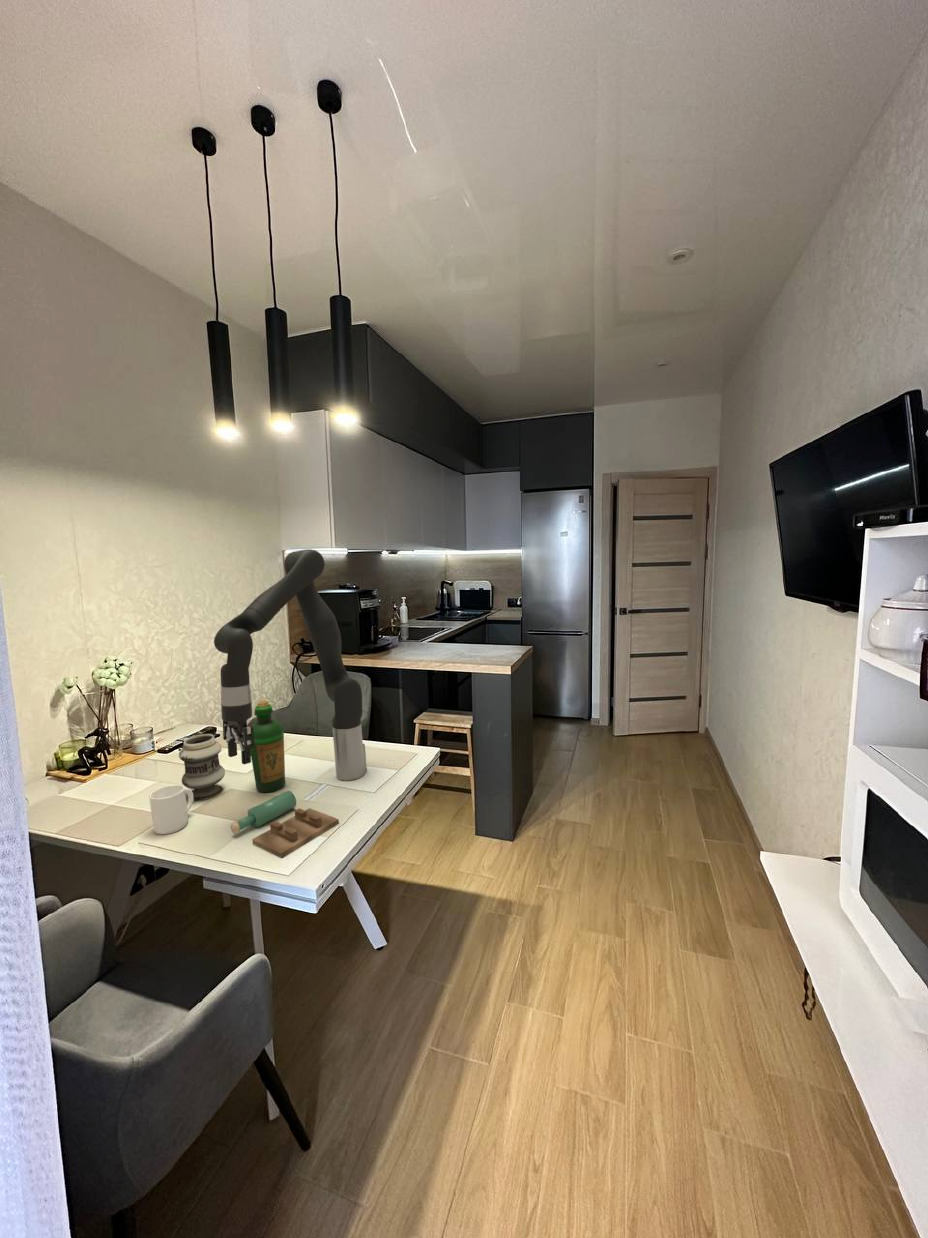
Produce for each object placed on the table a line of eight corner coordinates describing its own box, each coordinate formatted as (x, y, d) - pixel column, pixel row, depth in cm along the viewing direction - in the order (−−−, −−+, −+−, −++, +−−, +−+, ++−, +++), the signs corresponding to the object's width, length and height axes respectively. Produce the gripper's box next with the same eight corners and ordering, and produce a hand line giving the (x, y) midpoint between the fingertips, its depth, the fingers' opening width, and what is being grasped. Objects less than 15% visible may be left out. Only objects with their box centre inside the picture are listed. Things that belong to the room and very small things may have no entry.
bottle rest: (310, 812, 142) (308, 800, 141) (338, 823, 135) (337, 810, 134) (252, 843, 127) (251, 830, 126) (281, 858, 120) (280, 844, 120)
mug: (184, 811, 146) (179, 777, 144) (206, 814, 143) (202, 780, 142) (146, 833, 134) (141, 797, 133) (169, 837, 132) (165, 800, 130)
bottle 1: (276, 796, 152) (268, 707, 148) (245, 794, 154) (236, 707, 151) (295, 780, 162) (287, 697, 159) (265, 779, 165) (257, 697, 161)
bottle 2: (286, 805, 146) (284, 789, 146) (297, 810, 143) (295, 792, 143) (229, 835, 132) (226, 816, 131) (240, 840, 129) (238, 821, 128)
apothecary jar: (177, 804, 149) (170, 747, 147) (192, 786, 161) (186, 733, 159) (219, 800, 151) (213, 743, 149) (231, 782, 163) (226, 729, 161)
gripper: (262, 702, 132) (265, 762, 134) (238, 695, 142) (241, 750, 143) (233, 708, 127) (236, 770, 128) (211, 700, 136) (214, 757, 138)
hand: (239, 759), depth 136 cm, fingers open, 8 cm apart
